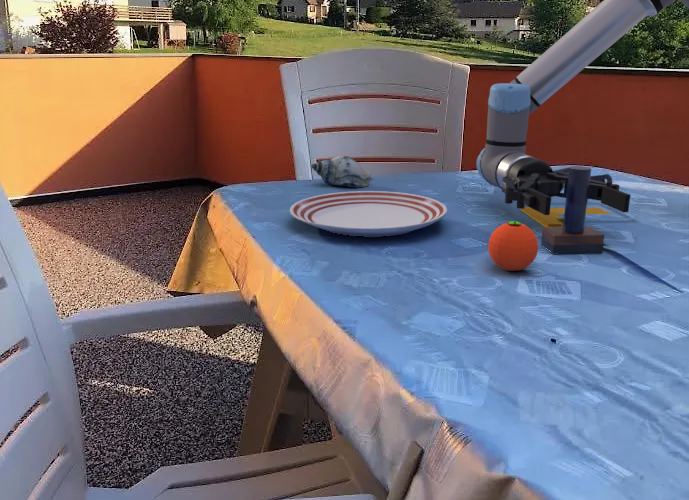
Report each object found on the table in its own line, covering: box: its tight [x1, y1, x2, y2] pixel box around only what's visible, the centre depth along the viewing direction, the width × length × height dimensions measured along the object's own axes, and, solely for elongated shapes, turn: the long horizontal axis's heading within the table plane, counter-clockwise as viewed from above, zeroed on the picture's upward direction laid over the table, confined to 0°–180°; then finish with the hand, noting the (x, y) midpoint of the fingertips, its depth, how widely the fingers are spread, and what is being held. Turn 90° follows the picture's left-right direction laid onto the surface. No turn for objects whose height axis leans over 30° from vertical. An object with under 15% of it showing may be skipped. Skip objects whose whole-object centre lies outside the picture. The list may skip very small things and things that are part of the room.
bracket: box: [553, 166, 613, 183], centre depth 165 cm, size 14×15×3 cm
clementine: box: [487, 220, 539, 272], centre depth 101 cm, size 8×7×7 cm
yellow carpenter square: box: [520, 206, 612, 227], centre depth 131 cm, size 16×14×1 cm
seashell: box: [310, 155, 372, 189], centre depth 156 cm, size 6×8×12 cm
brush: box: [540, 165, 605, 255], centre depth 110 cm, size 8×5×13 cm, turn 96°
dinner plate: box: [289, 190, 448, 238], centre depth 124 cm, size 28×27×3 cm
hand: (588, 204), depth 106 cm, fingers open, 12 cm apart
